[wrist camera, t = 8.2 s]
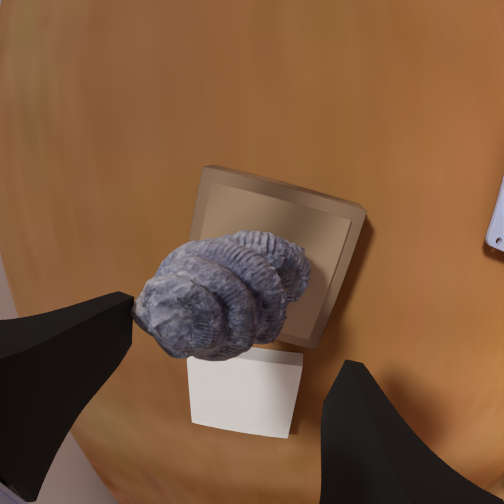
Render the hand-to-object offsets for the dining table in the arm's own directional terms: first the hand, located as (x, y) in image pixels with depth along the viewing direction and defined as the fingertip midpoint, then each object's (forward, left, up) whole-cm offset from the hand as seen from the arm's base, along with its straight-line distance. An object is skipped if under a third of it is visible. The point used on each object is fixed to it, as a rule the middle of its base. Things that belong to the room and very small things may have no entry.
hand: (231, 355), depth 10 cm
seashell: (0, 0, -8) cm, 8 cm away
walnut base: (0, 0, -10) cm, 10 cm away
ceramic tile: (-1, +11, -10) cm, 15 cm away
